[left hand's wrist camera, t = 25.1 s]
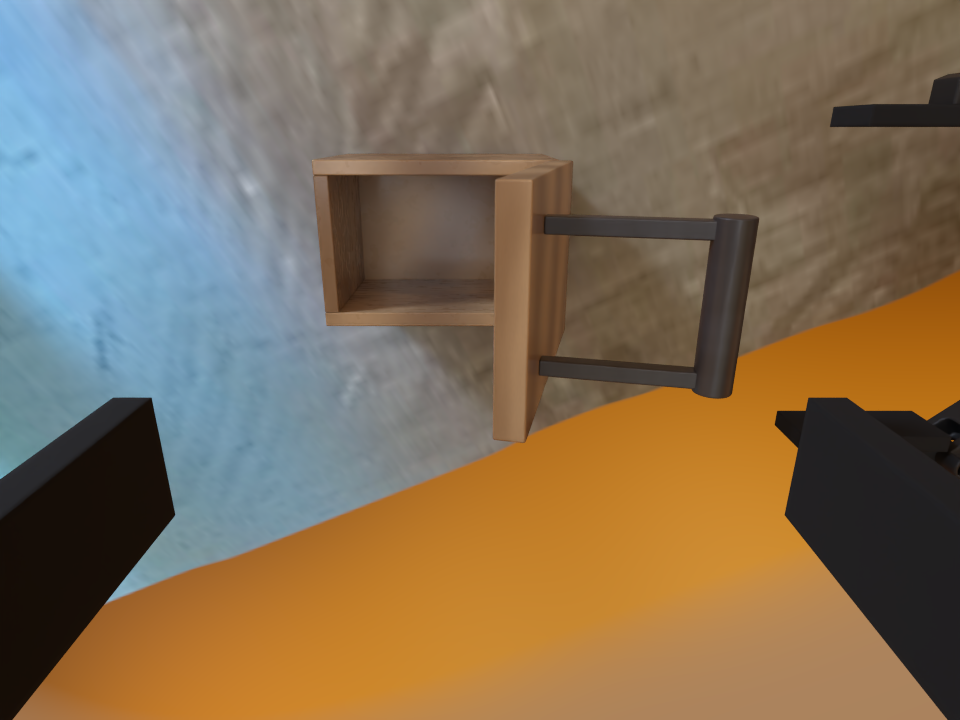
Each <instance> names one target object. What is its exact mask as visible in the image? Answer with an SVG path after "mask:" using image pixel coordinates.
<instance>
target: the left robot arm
mask: <svg viewBox="0 0 960 720" xmlns="http://www.w3.org/2000/svg"><path fill="white" fill-rule="evenodd" d="M174 516H175V511H174V506H173V501H172V496H171V491H170V486H169V481H168V477H167V472H166V467H165V462H164V457H163V452H162V447H161V442H160V437H159V432H158V427H157V422H156V417H155V413H154V408H153V403H152V398H112V399H111V400H109V401H108V402H107V403H105V404H104V405H102V406H101V407H100V408H98V409H97V410H96V411H94V412H93V413H91V414H90V415H89V416H87V417H86V418H84V419H83V420H82V421H80V422H79V423H78V424H76V425H75V426H73V427H72V428H71V429H69V430H68V431H67V432H65V433H64V434H62V435H61V436H60V437H58V438H57V439H55V440H54V441H53V442H51V443H50V444H49V445H47V446H46V447H44V448H43V449H42V450H40V451H39V452H38V453H36V454H35V455H33V456H32V457H31V458H29V459H28V460H26V461H25V462H24V463H22V464H21V465H20V466H18V467H17V468H15V469H14V470H13V471H11V472H10V473H9V474H7V475H6V476H4V477H3V478H2V479H0V720H13V718H14V717H15V716H16V715H17V713H18V712H19V711H20V710H21V708H22V707H23V706H24V704H25V703H26V702H27V701H28V699H29V698H30V697H31V696H32V694H33V693H34V692H35V691H36V689H37V688H38V687H39V686H40V684H41V683H42V682H43V681H44V679H45V678H46V677H47V676H48V674H49V673H50V672H51V671H52V669H53V668H54V667H55V666H56V664H57V663H58V662H59V661H60V659H61V658H62V657H63V655H64V654H65V653H66V652H67V650H68V649H69V648H70V647H71V645H72V644H73V643H74V642H75V640H76V639H77V638H78V637H79V635H80V634H81V633H82V632H83V630H84V629H85V628H86V627H87V625H88V624H89V623H90V622H91V620H92V619H93V618H94V617H95V615H96V614H97V613H98V612H99V610H100V609H101V608H102V606H103V605H104V604H105V603H106V601H107V600H108V599H109V598H110V596H111V595H112V594H113V593H114V591H115V590H116V589H117V588H118V586H119V585H120V584H121V583H122V581H123V580H124V579H125V578H126V576H127V575H128V574H129V573H130V571H131V570H132V569H133V568H134V566H135V565H136V564H137V563H138V561H139V560H140V559H141V558H142V556H143V555H144V554H145V552H146V551H147V550H148V549H149V547H150V546H151V545H152V544H153V542H154V541H155V540H156V539H157V537H158V536H159V535H160V534H161V532H162V531H163V530H164V529H165V527H166V526H167V525H168V524H169V522H170V521H171V520H172V519H173V517H174ZM785 516H786V517H787V519H788V520H789V521H790V522H791V524H792V525H793V526H794V527H795V529H796V530H797V531H798V532H799V534H800V535H801V536H802V537H803V539H804V540H805V541H806V542H807V544H808V545H809V546H810V547H811V549H812V550H813V551H814V552H815V554H816V555H817V556H818V557H819V559H820V560H821V561H822V562H823V564H824V565H825V566H826V568H827V569H828V570H829V571H830V573H831V574H832V575H833V576H834V578H835V579H836V580H837V581H838V583H839V584H840V585H841V586H842V588H843V589H844V590H845V591H846V593H847V594H848V595H849V596H850V598H851V599H852V600H853V601H854V603H855V604H856V605H857V607H858V608H859V609H860V610H861V612H862V613H863V614H864V615H865V617H866V618H867V619H868V620H869V622H870V623H871V624H872V625H873V627H874V628H875V629H876V630H877V632H878V633H879V634H880V635H881V637H882V638H883V639H884V640H885V642H886V643H887V644H888V645H889V647H890V648H891V649H892V650H893V652H894V653H895V654H896V656H897V657H898V658H899V659H900V661H901V662H902V663H903V664H904V666H905V667H906V668H907V669H908V671H909V672H910V673H911V674H912V676H913V677H914V678H915V679H916V681H917V682H918V683H919V684H920V686H921V687H922V688H923V689H924V691H925V692H926V693H927V694H928V696H929V697H930V698H931V699H932V701H933V702H934V703H935V704H936V706H937V707H938V708H939V709H940V711H941V712H942V713H943V715H944V716H945V717H946V718H947V720H960V479H958V478H957V477H956V476H954V475H953V474H951V473H950V472H949V471H947V470H946V469H945V468H943V467H942V466H940V465H939V464H938V463H936V462H935V461H934V460H932V459H931V458H929V457H928V456H927V455H925V454H924V453H922V452H921V451H920V450H918V449H917V448H916V447H914V446H913V445H911V444H910V443H909V442H907V441H906V440H905V439H903V438H902V437H900V436H899V435H898V434H896V433H895V432H893V431H892V430H891V429H889V428H888V427H887V426H885V425H884V424H882V423H881V422H880V421H878V420H877V419H876V418H874V417H873V416H871V415H870V414H869V413H867V412H866V411H864V410H863V409H862V408H860V407H859V406H857V405H856V404H855V403H853V402H852V401H851V400H849V399H848V398H808V403H807V408H806V413H805V417H804V422H803V427H802V432H801V437H800V442H799V447H798V452H797V457H796V462H795V467H794V472H793V477H792V481H791V487H790V491H789V496H788V501H787V506H786V511H785Z"/></svg>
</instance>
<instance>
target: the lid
mask: <svg viewBox="0 0 960 720" xmlns="http://www.w3.org/2000/svg"><path fill="white" fill-rule="evenodd" d="M572 174H573V161H559V160H551V161H548V162H545V163H542V164H539V165H536V166H533V167H530V168H527V169H525V170H522V171H519V172H516V173H513V174H510V175H507V176H504V177H501V178H498V179H496V180H495V238H494V348H493V439H494V440H502V441H511V442H520V443H525V442H526V439H527V436H528V433H529V430H530V428H531V425H532V422H533V419H534V416H535V413H536V410H537V407H538V405H539V402H540V399H541V396H542V393H543V390H544V387H545V384H546V381H547V379H548V377H560V378H572V379H583V380H595V381H607V382H618V383H630V384H642V385H653V386H665V387H677V388H688V389H692V391H693V392H694V393H696V394H698V395H700V396H703V397H708V398H717V399H719V398H727V397H729V396H730V395H731V394H732V390H733V383H734V377H735V370H736V364H737V358H738V351H739V345H740V338H741V332H742V326H743V319H744V313H745V306H746V300H747V294H748V287H749V281H750V274H751V268H752V262H753V255H754V249H755V242H756V236H757V230H758V223H759V217H757V216H753V215H745V214H717V215H714V217H713V219H703V218H669V217H635V216H601V215H570V213H571V193H572ZM569 235H573V236H600V237H627V238H655V239H682V240H710V248H709V255H708V263H707V271H706V278H705V286H704V294H703V301H702V309H701V316H700V324H699V332H698V339H697V347H696V355H695V362H694V367H684V366H671V365H658V364H646V363H633V362H620V361H608V360H595V359H582V358H569V357H557V356H555V355H556V353H557V350H558V347H559V344H560V341H561V338H562V335H563V332H564V329H565V311H566V291H567V272H568V252H569Z"/></svg>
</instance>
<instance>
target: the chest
mask: <svg viewBox="0 0 960 720" xmlns="http://www.w3.org/2000/svg"><path fill="white" fill-rule="evenodd" d="M551 160H557V159H554V158H551V157H549V156H546V155H543V154H344V155H338V156H332V157H326V158H320V159H314V160H312V168H313V175H314V176H313V180H314V191H315V202H316V213H317V224H318V235H319V247H320V258H321V269H322V280H323V291H324V302H325V312H326V313H325V314H326V325H327V326H494V238H495V180H496V179H498V178H501V177H504V176H507V175H510V174H513V173H516V172H519V171H522V170H525V169H527V168H530V167H533V166H536V165H539V164H542V163H545V162H548V161H551Z"/></svg>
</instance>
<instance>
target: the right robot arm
mask: <svg viewBox="0 0 960 720" xmlns="http://www.w3.org/2000/svg"><path fill="white" fill-rule="evenodd" d="M830 127H960V73H955V74H948V75H945V76H943V77H940V78H938V79H935V80H934V83H933V87H932V91H931V96H930V100H929V104H871V105H856V106H842V107H834V108H833V114H832V119H831V124H830ZM866 412H867V413H869V414H870V415H871V416H873V417H874V418H876V419H877V420H878V421H880V422H881V423H882V424H884V425H885V426H887V427H888V428H889V429H891V430H892V431H893V432H895V433H896V434H898V435H899V436H900V437H902V438H903V439H905V440H906V441H907V442H909V443H910V444H911V445H913V446H914V447H916V448H917V449H918V450H920V451H921V452H922V453H924V454H925V455H927V456H928V457H929V458H931V459H932V460H934V461H935V462H936V463H938V464H939V465H940V466H942V467H943V468H945V469H946V470H947V471H949V472H950V473H951V474H953V475H954V476H956V477H957V478H958V479H960V400H959V401H957V402H956V403H954V404H953V405H951V406H950V407H948V408H946V409H945V410H943V411H942V412H940V413H938V414H937V415H935V416H934V417H932V418H930V419H929V420H927V421H926V420H925V419H923V418H922V417H920V416H919V415H917V414H916V413H914V412H913V411H866ZM805 413H806V411H777V415H776V421H775V426H776V427H777V428H778V429H779V430H780V431H781V432H782V433H783V434H784V435H785V436H786V437H787V438H788V439H789V440H790V441H791V442H792V443H794V445H795V446H796V447H797V448H798V447H799V442H800V437H801V432H802V427H803V422H804V417H805ZM951 440H954V441H953V442H952V441H951Z"/></svg>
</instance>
